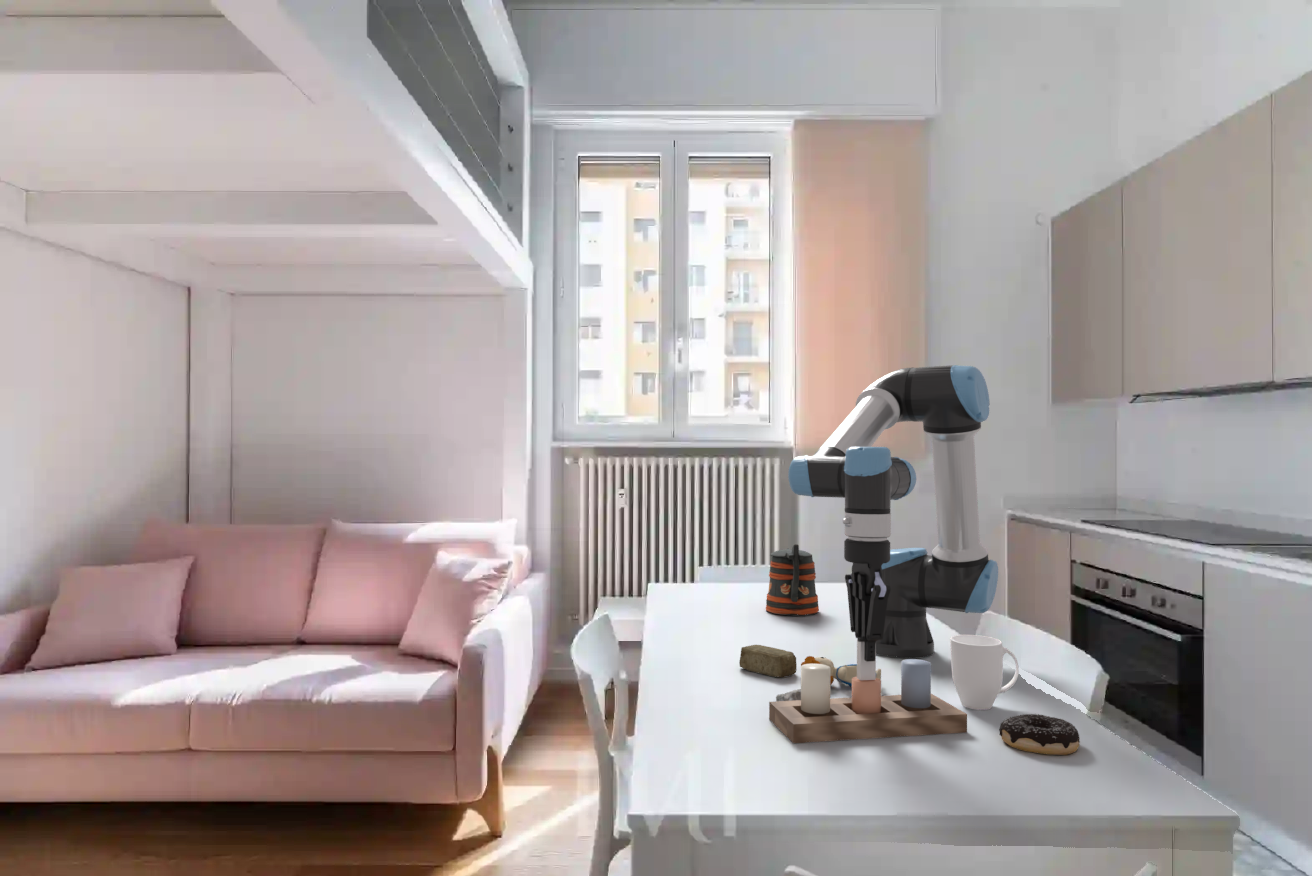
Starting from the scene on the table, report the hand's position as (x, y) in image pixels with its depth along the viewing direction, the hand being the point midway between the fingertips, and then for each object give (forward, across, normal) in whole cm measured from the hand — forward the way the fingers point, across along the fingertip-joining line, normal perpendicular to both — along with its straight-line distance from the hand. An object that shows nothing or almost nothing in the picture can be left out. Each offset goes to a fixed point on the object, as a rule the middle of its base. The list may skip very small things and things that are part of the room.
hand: (866, 678), depth 147 cm
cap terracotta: (+7, 0, 0) cm, 7 cm away
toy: (+8, -23, +5) cm, 25 cm away
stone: (+8, -12, -8) cm, 17 cm away
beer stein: (+8, -93, +21) cm, 96 cm away
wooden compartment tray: (+8, 0, 0) cm, 8 cm away
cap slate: (+5, 0, +9) cm, 10 cm away
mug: (+8, -7, +26) cm, 28 cm away
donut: (+8, +13, +23) cm, 28 cm away
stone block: (+8, -36, -6) cm, 37 cm away
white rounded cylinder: (+5, 0, -9) cm, 10 cm away
